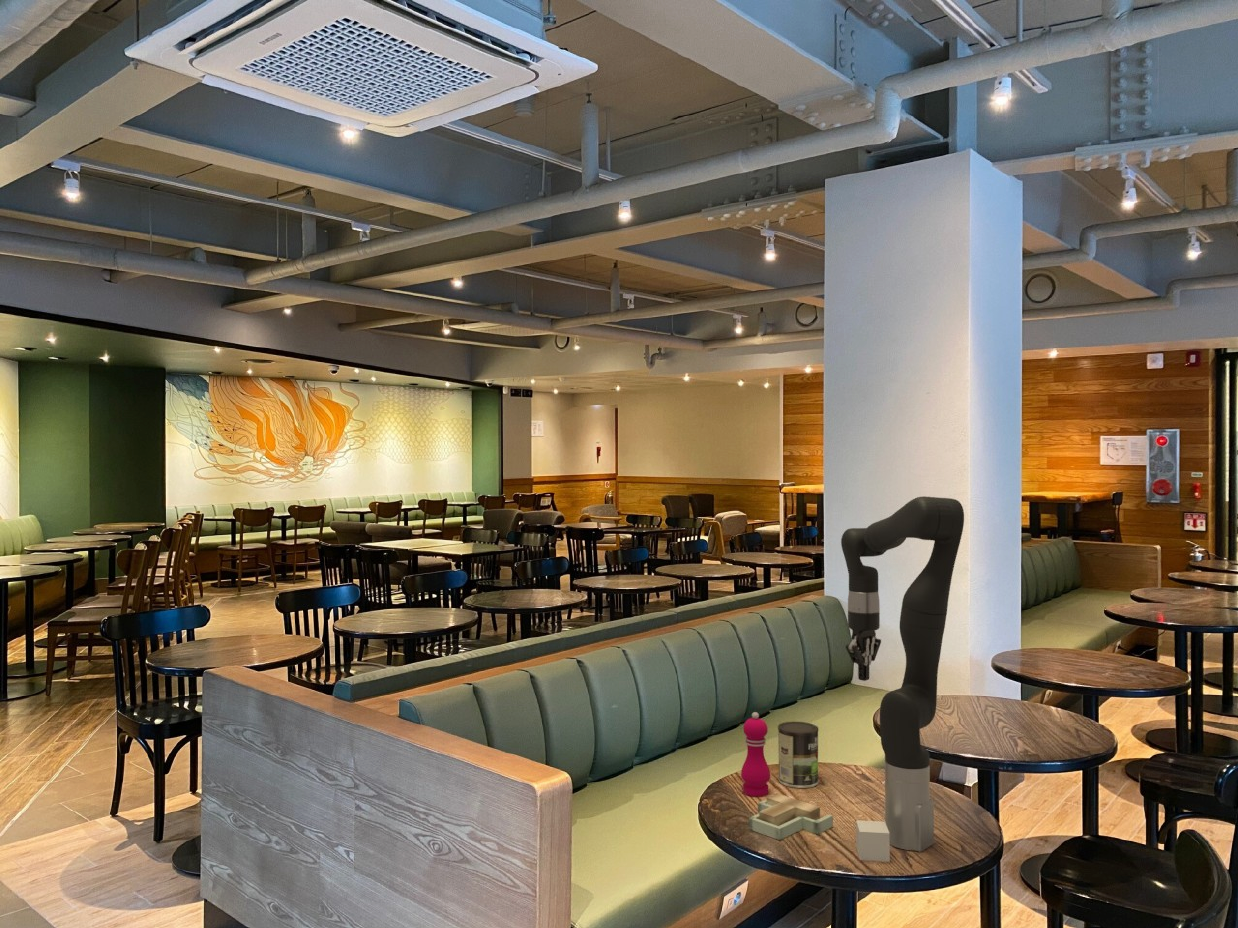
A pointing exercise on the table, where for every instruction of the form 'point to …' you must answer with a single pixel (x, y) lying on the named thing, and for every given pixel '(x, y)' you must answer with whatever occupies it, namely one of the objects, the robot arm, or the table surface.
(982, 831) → the table surface
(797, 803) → the t block
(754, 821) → the t dock
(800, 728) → the coffee can
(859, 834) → the beige cube
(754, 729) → the pepper mill
